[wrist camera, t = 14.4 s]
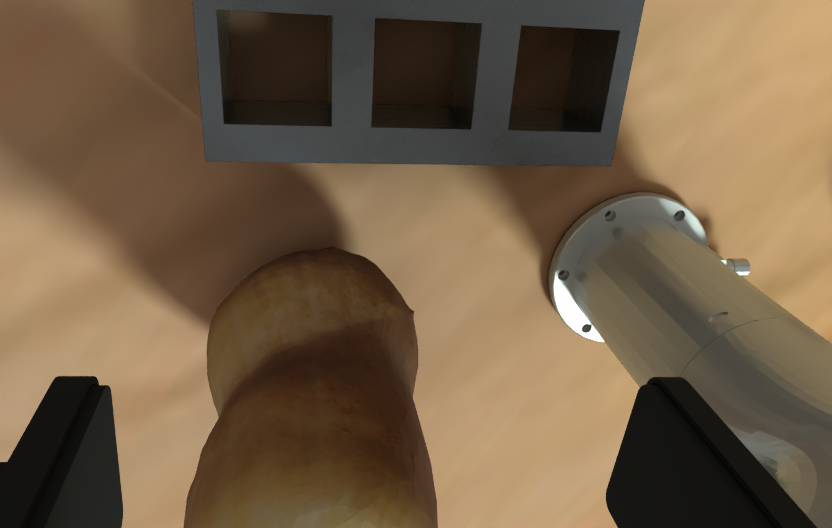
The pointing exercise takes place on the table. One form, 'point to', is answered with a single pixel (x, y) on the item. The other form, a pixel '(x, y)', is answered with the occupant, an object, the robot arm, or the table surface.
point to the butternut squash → (313, 403)
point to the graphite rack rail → (421, 124)
